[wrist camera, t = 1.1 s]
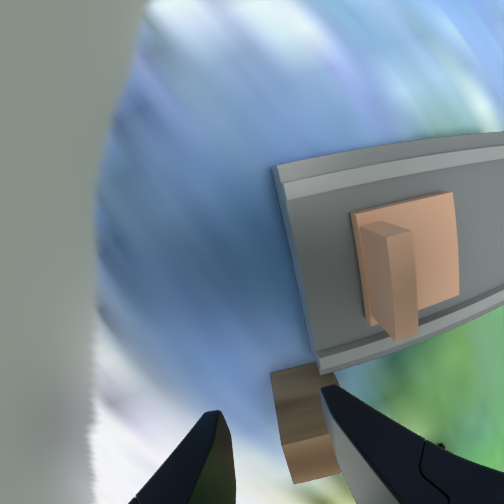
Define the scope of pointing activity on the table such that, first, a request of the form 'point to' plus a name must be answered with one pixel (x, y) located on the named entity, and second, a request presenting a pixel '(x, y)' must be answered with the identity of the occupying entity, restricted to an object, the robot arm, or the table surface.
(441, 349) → the table surface
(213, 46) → the table surface
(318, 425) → the plug
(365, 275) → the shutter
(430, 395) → the table surface
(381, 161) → the socket block
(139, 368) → the table surface
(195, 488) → the robot arm
